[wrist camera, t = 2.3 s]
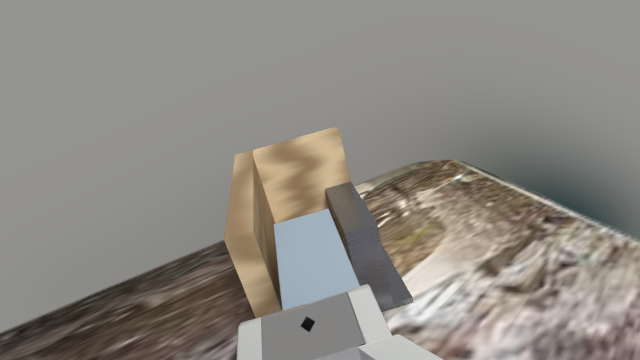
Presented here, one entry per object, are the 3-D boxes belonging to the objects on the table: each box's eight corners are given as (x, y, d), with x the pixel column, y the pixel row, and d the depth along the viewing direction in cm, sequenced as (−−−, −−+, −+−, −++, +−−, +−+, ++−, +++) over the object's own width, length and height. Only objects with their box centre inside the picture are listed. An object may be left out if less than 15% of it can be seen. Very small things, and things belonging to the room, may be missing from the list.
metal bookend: (365, 317, 38) (344, 233, 34) (343, 260, 47) (325, 188, 43) (413, 302, 38) (398, 217, 34) (382, 248, 47) (367, 176, 43)
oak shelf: (287, 397, 32) (224, 239, 26) (275, 270, 48) (235, 155, 42) (418, 355, 33) (387, 191, 26) (362, 244, 49) (335, 126, 43)
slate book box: (358, 577, 21) (292, 415, 16) (314, 350, 36) (273, 224, 30) (436, 550, 21) (399, 380, 16) (361, 335, 36) (328, 208, 31)
